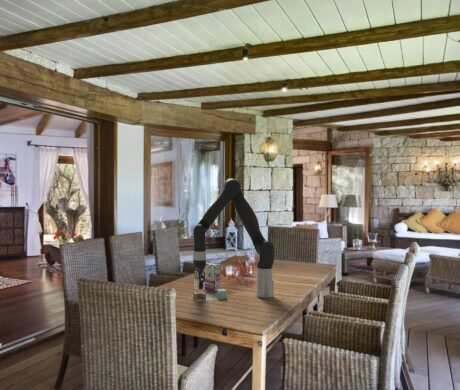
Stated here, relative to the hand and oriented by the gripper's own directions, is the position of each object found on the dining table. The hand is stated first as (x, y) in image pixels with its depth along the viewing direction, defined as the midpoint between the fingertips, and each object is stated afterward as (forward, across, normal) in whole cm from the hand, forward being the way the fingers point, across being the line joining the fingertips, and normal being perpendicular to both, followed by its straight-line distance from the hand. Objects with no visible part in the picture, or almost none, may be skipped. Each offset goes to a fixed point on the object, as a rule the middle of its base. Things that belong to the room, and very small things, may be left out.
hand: (199, 287), depth 232 cm
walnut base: (+6, 0, 0) cm, 6 cm away
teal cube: (+6, -3, -13) cm, 14 cm away
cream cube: (0, 0, 0) cm, 0 cm away
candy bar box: (+7, +18, -14) cm, 24 cm away
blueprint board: (+7, +1, -6) cm, 9 cm away
